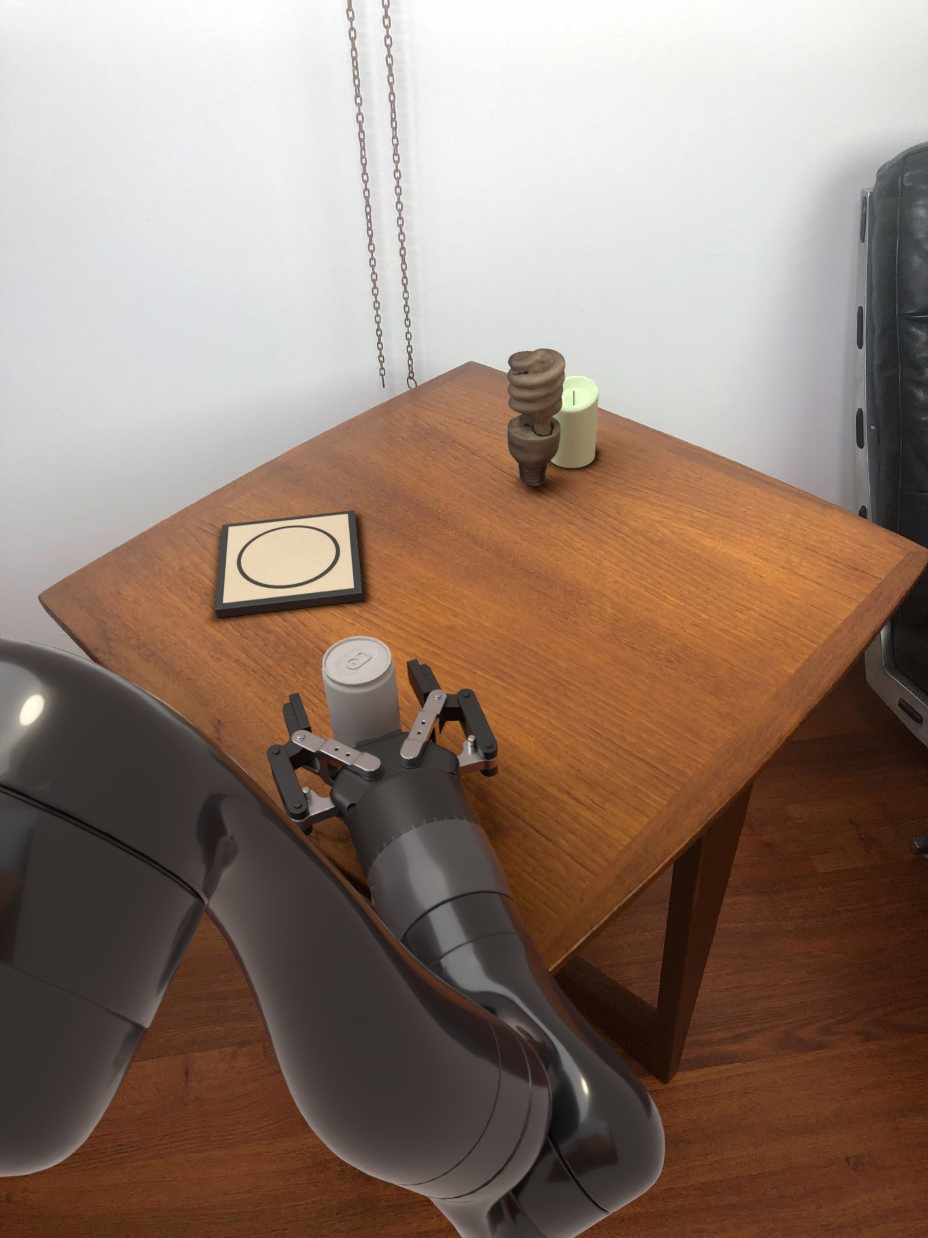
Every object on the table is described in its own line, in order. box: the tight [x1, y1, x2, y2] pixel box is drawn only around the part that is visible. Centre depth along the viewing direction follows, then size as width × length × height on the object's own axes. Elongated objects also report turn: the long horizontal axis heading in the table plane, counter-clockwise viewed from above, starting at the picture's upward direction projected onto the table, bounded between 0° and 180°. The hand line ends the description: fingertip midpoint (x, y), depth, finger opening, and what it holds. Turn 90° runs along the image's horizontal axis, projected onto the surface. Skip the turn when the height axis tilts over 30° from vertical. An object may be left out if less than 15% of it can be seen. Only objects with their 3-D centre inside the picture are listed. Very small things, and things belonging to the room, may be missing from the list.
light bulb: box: [506, 347, 566, 488], centre depth 94 cm, size 6×6×15 cm
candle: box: [550, 375, 600, 469], centre depth 100 cm, size 5×5×8 cm
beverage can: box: [321, 635, 402, 748], centre depth 67 cm, size 5×5×12 cm
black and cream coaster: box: [214, 509, 364, 619], centre depth 90 cm, size 13×13×1 cm
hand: (354, 684), depth 68 cm, fingers open, 8 cm apart
